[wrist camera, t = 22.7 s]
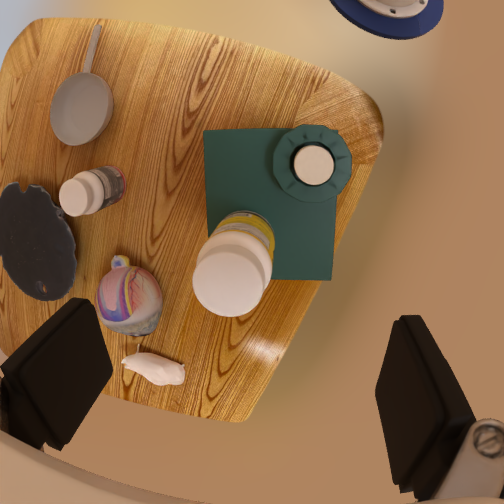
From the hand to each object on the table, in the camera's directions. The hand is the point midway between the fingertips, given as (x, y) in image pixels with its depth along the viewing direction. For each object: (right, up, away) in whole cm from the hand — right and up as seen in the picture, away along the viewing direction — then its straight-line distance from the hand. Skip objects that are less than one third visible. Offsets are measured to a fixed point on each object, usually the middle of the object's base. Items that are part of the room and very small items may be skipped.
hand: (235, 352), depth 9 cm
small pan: (-22, +27, +29) cm, 46 cm away
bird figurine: (-15, -16, +44) cm, 50 cm away
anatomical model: (-17, -2, +39) cm, 43 cm away
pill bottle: (-20, +13, +34) cm, 42 cm away
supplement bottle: (0, +4, +16) cm, 17 cm away
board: (-36, +6, +39) cm, 53 cm away
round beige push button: (+5, +9, +12) cm, 16 cm away
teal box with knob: (+4, +12, +31) cm, 34 cm away
